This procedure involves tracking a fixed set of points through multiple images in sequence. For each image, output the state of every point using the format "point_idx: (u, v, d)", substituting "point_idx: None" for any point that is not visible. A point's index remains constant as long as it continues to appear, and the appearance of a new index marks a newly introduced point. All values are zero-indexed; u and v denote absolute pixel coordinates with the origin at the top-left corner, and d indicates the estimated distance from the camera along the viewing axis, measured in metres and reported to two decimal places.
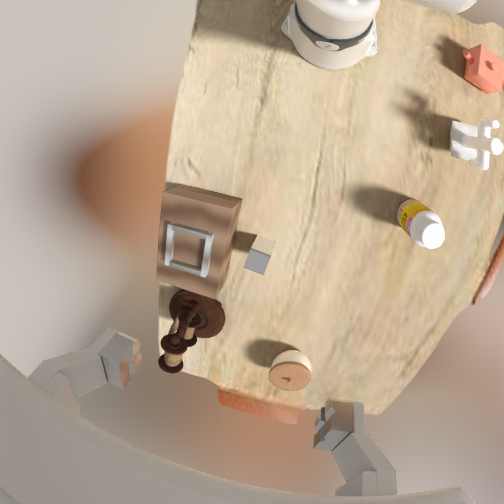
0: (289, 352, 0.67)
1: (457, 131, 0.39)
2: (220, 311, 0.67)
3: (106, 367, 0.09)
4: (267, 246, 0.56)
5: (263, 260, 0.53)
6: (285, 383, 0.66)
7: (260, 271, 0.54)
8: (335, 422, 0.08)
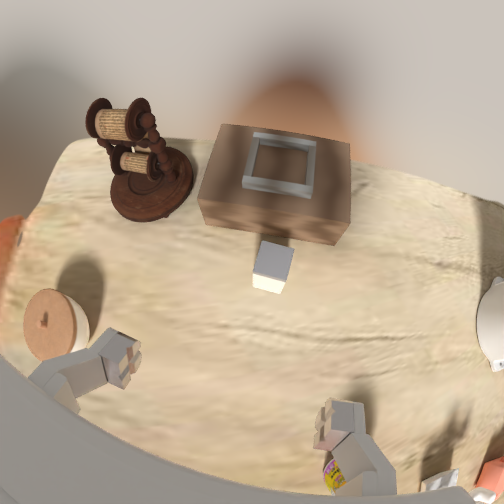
0: (87, 325, 0.35)
1: (449, 477, 0.25)
2: (158, 214, 0.41)
3: (106, 367, 0.09)
4: None
5: (279, 270, 0.33)
6: (36, 317, 0.30)
7: (259, 266, 0.33)
8: (335, 422, 0.08)
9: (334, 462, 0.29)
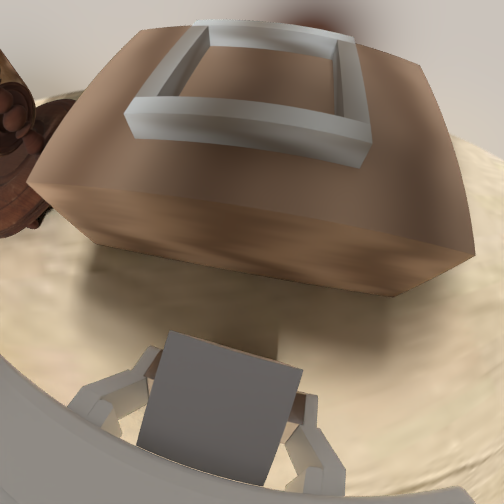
0: None
1: None
2: (12, 222, 0.15)
3: (151, 388, 0.09)
4: None
5: (236, 453, 0.07)
6: None
7: (158, 434, 0.07)
8: None
9: None
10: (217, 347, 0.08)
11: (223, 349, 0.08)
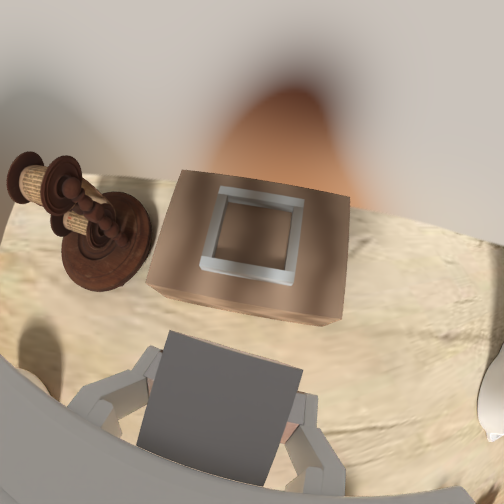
0: None
1: None
2: (110, 285, 0.33)
3: (151, 388, 0.09)
4: None
5: (236, 454, 0.07)
6: None
7: (158, 434, 0.07)
8: None
9: None
10: (217, 347, 0.08)
11: (223, 349, 0.08)
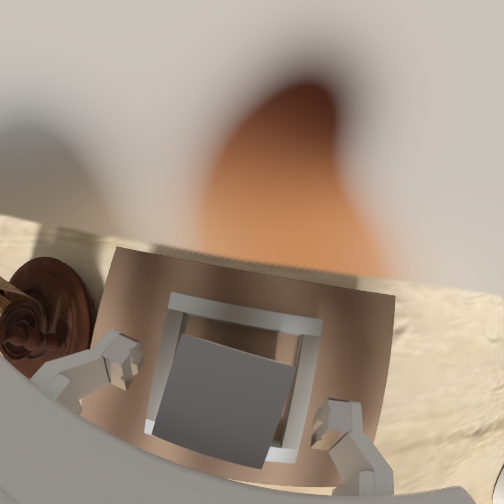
0: None
1: None
2: None
3: (109, 368, 0.09)
4: None
5: (238, 440, 0.08)
6: None
7: (171, 423, 0.08)
8: (332, 422, 0.08)
9: None
10: (223, 348, 0.09)
11: (228, 350, 0.09)
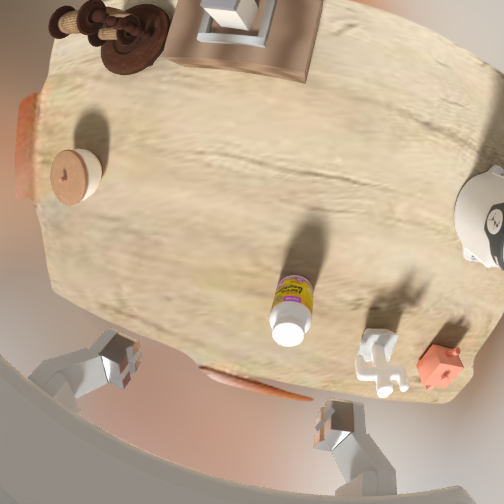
0: (98, 166, 0.45)
1: (387, 339, 0.47)
2: (141, 66, 0.37)
3: (106, 367, 0.09)
4: (245, 12, 0.24)
5: (226, 0, 0.20)
6: (58, 174, 0.42)
7: (206, 0, 0.21)
8: (335, 422, 0.08)
9: (283, 281, 0.48)
10: None
11: None
